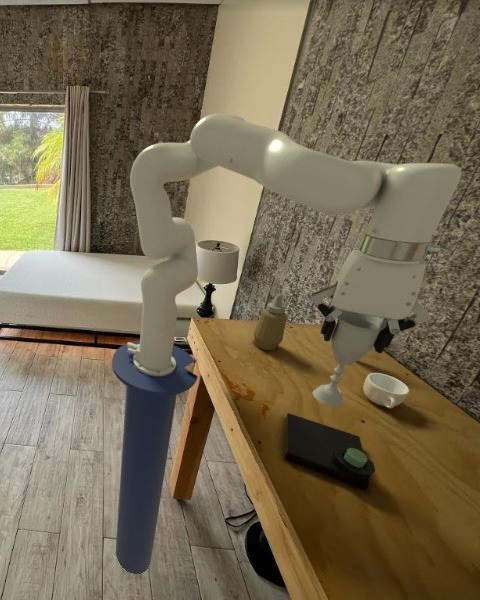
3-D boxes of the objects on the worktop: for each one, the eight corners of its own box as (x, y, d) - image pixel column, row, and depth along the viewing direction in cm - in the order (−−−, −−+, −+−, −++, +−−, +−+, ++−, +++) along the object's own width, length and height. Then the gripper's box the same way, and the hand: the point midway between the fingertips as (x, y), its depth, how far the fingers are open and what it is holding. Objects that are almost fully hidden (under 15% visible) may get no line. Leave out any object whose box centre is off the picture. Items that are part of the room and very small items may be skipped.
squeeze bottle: (279, 355, 96) (296, 302, 88) (249, 348, 100) (263, 296, 92) (279, 342, 102) (295, 292, 94) (251, 336, 106) (264, 287, 98)
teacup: (355, 385, 84) (363, 369, 81) (393, 395, 80) (402, 378, 78) (365, 411, 76) (374, 393, 73) (408, 422, 72) (418, 404, 70)
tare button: (344, 463, 59) (348, 457, 59) (342, 451, 62) (346, 445, 61) (365, 471, 58) (369, 464, 57) (362, 458, 60) (366, 452, 59)
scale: (284, 460, 64) (289, 447, 62) (285, 419, 74) (289, 406, 72) (369, 494, 58) (378, 479, 56) (358, 444, 67) (365, 431, 66)
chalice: (315, 381, 68) (345, 306, 60) (354, 399, 63) (392, 320, 55) (301, 396, 64) (330, 317, 56) (341, 416, 59) (379, 333, 51)
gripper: (459, 250, 49) (408, 346, 56) (322, 236, 57) (294, 322, 65) (482, 264, 43) (422, 369, 51) (326, 246, 51) (294, 340, 59)
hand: (350, 342), depth 57 cm, fingers closed on chalice, 6 cm apart
